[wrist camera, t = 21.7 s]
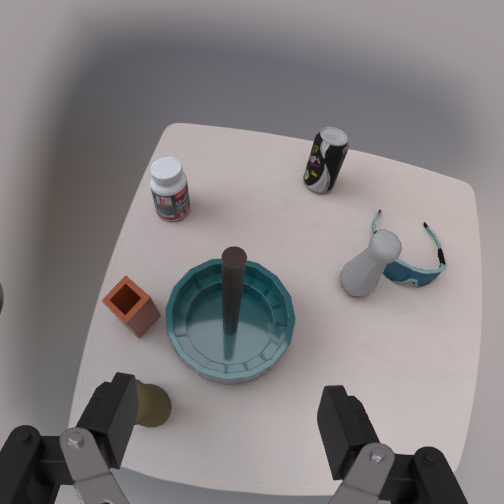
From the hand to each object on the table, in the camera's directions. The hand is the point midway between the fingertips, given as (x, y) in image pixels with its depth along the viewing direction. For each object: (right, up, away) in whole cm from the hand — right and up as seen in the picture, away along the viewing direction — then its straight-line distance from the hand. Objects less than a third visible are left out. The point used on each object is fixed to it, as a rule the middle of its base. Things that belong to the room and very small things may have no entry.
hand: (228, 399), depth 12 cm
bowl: (-2, -4, +31) cm, 32 cm away
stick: (-2, -4, +31) cm, 31 cm away
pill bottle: (-12, +13, +41) cm, 44 cm away
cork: (-13, -14, +25) cm, 31 cm away
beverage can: (+13, +19, +46) cm, 51 cm away
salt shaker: (+17, +1, +36) cm, 40 cm away
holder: (-15, -3, +31) cm, 34 cm away
